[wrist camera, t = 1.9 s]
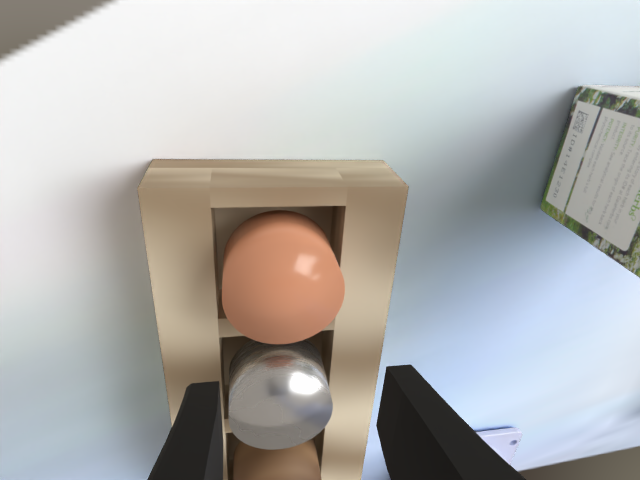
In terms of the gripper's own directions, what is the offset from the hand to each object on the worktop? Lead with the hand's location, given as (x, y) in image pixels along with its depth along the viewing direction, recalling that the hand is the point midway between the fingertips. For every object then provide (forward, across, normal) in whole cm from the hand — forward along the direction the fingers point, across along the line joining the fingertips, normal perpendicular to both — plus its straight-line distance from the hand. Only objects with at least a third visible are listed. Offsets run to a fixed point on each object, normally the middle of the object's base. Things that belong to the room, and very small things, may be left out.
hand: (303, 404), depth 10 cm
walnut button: (+7, 0, +11) cm, 13 cm away
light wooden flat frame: (+9, 0, +6) cm, 11 cm away
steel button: (+7, 0, +6) cm, 9 cm away
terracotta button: (+7, 0, 0) cm, 7 cm away
